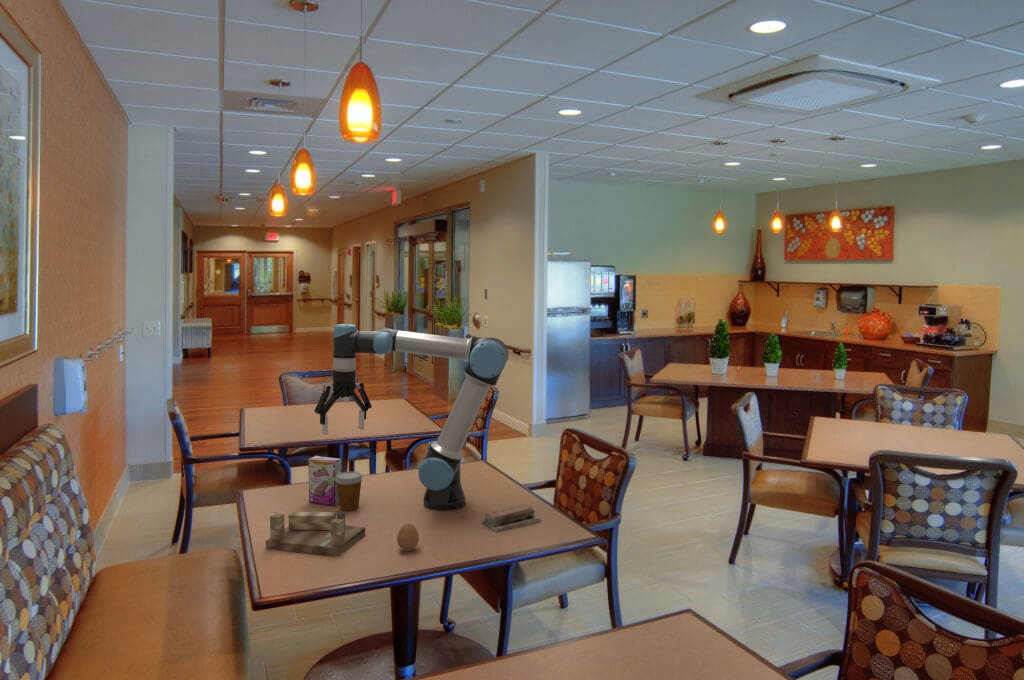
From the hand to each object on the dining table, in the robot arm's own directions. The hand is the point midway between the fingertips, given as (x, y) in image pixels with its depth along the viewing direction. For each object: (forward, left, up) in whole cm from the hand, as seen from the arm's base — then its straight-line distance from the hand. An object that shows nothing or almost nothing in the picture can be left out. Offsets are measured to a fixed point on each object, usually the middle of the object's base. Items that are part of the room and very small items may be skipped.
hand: (343, 431), depth 242 cm
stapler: (-57, -8, -30) cm, 65 cm away
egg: (-33, +24, -29) cm, 50 cm away
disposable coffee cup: (+2, -6, -29) cm, 30 cm away
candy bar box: (+13, -9, -29) cm, 33 cm away
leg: (0, +21, -26) cm, 34 cm away
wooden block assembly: (-3, +25, -29) cm, 38 cm away
